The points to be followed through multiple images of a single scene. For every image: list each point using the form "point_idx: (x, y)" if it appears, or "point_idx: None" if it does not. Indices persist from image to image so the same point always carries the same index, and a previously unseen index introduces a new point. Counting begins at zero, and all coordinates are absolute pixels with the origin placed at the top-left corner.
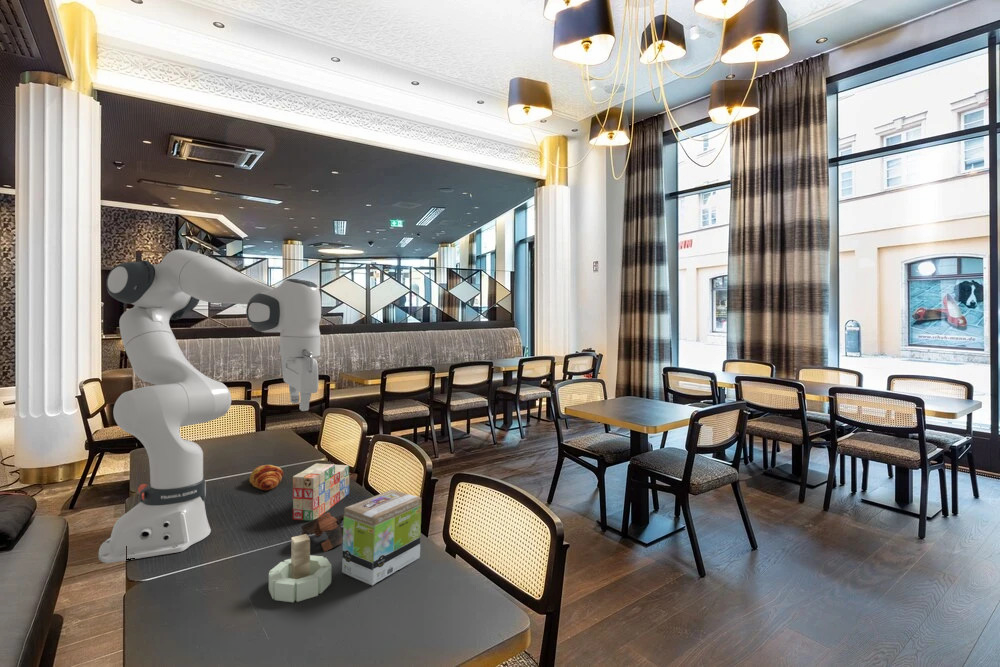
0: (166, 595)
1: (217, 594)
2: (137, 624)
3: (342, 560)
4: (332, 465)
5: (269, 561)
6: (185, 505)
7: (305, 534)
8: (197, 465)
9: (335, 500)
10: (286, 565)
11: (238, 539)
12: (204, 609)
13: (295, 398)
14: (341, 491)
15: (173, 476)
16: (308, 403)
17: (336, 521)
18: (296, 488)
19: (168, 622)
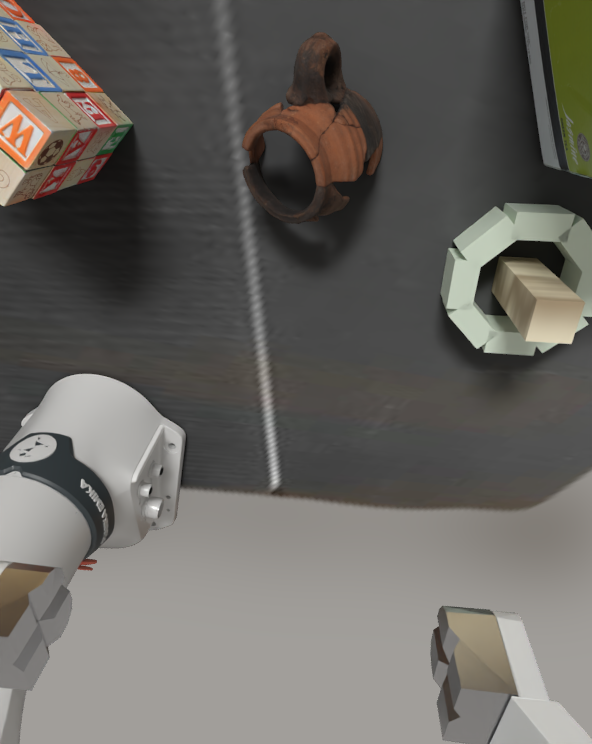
0: (358, 469)
1: (417, 410)
2: (427, 506)
3: (558, 169)
4: None
5: (340, 302)
6: (113, 482)
7: (539, 303)
8: (28, 535)
9: None
10: (477, 311)
11: (173, 333)
12: (457, 434)
13: (29, 636)
14: None
15: (73, 566)
16: (543, 693)
17: (333, 108)
18: (42, 187)
19: (456, 477)
